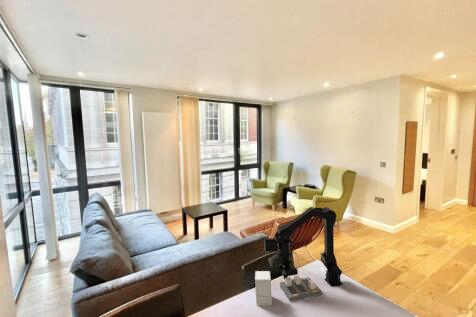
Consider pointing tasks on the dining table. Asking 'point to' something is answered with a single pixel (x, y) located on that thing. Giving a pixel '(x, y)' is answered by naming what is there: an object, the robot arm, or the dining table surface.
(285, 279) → the switch tab
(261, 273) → the supplement box
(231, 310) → the dining table surface
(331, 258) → the robot arm
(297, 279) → the switch tab
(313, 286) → the switch tab
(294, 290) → the switch panel
